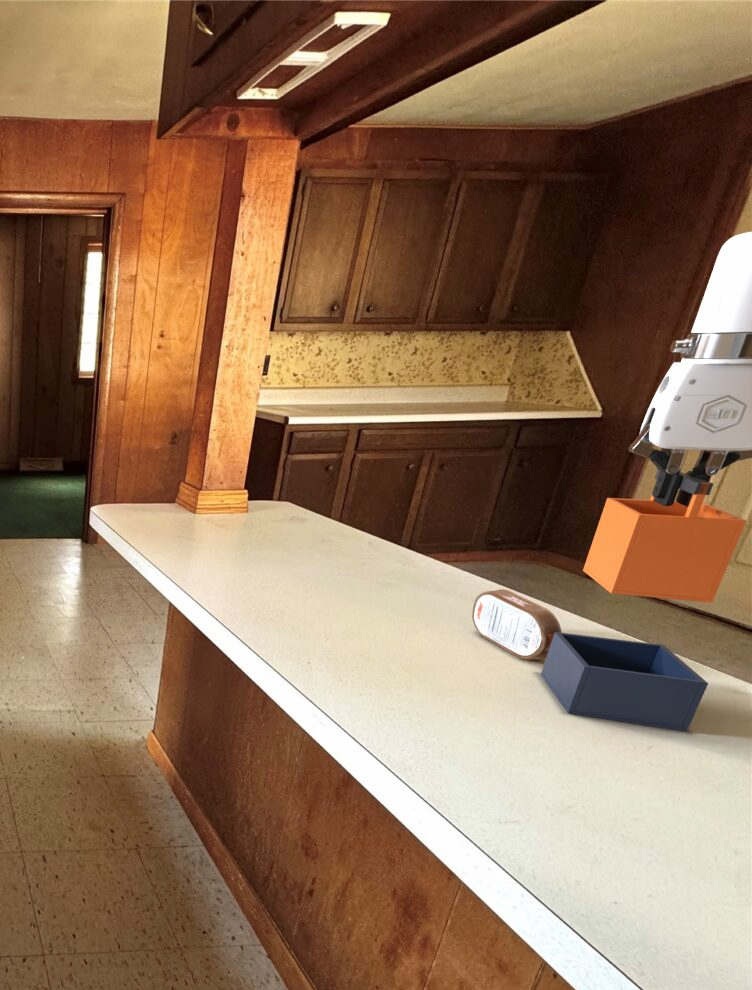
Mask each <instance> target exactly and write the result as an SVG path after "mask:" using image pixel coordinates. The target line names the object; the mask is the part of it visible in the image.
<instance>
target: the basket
mask: <svg viewBox="0 0 752 990" xmlns="http://www.w3.org/2000/svg"><path fill="white" fill-rule="evenodd" d="M659 473H660V470H658V469H657V470H656V473H655V475H654V479H655V480H657V478H658V475H659ZM679 474H681V475H683V478H682V481H681V484H680V486H679V490H680V489H681V490H684V491H686V492H689V493H691V494H693V496H692V498H691V501H690V504H689V506H688V507H687V506H684V505H682V504H680V503H678V502H676V500H675V501H674V503H673V505H671V506H663V505H661V504H659V503H656V502H654V497H653V496H652V495H651V496H650V499H638V498H616V497H607V498H606V501H605V503H604V504H605V505H604V507H603V511H602V513H601V516H600V519H599V521H598V525H597V527H596V531H595V534H594V536H593V539H592V543H591V546H590V549H589V551H588V555H587V556H586V560H585V563H584V566H583V569H582V572H584V573H585V574H586V575H588V576H589V577H590V578H592V579H593V580H594V581H595V582H596V583H598V584H599V585H600V586H602V587H603V589H605V590H606V591H607V592H609V593H610V594H614V595H624V596H635V597H645V598H646V597H647V598H656V599H665V600H666V599H667V600H678V601H679V600H680V601H690V602H700V603H711V604H712V603H713V601H714V600H715V597H716V595H717V592H718V590H719V587H720V586H721V583H722V580H723V578H724V575H725V574H726V571H727V568H728V566H729V563H730V561H731V560H732V557H733V554H734V552H735V549H736V547H737V545H738V542H739V540H740V537H741V535H742V532H743V530H744V528H745V526H746V523H747V520H746V519H745V518H741V517H739V516H737V515H734V514H731V513H729V512H727V511H725V510H722V509H720V508H717V507H715V506H712V505H710V504H708V503H705V501H704V500H705V498H706V496H710V493H711V492H712V489H713V486H714V483H712V482H710V481H709V482H707V481H705V480H702V479H699V478H696V477H694V476H691V475H688V474H686V472H682V471H680V473H679Z"/></svg>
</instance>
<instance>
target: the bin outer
mask: <svg viewBox="0 0 752 990" xmlns="http://www.w3.org/2000/svg"><path fill="white" fill-rule="evenodd" d="M544 660H545V661H544V663H543V666H542V669H541V672H540V676H541V677H542V678H543V680H544V682H545V683H546V684H547V686H548V687H549V689H550V691H552V693H553V694H554V696H555V698H557V700H558V702H559V703H560V704H561V706H562V708H564V710H565V711H566V713H567V714H571V715H577V716H583V717H591V718H596V719H603V720H609V721H615V722H622V723H628V724H634V725H640V726H648V727H652V728H658V729H659V728H660V729H666V730H673V731H678V732H684V733H687V732H688V730H689V728H690V726H691V723H692V721H693V719H694V716H695V715H696V712H697V710H698V708H699V705H700V703H701V701H702V699H703V696H704V694H705V692H706V691H707V687H708V685H709V682H707V680H705V679H704V678H702V676H700V675H699V674H698V673H697V672H696V671H695V670H693V668H691V667H690V666H689V665H688V664H687V663H686V662H684V661H683V660H682V659H681V658H680V657H678V656H677V654H675V653H674V652H672V650H670V648H668V647H667V646H665V645H664V644H661V643H660V644H658V643H649V642H641V641H634V640H625V639H619V638H617V639H616V638H608V637H602V636H601V637H600V636H592V635H586V634H585V635H584V634H575V633H568V632H562V633H560V632H555V633H554V636H553V639H552V642H551V645H550V648H549V651H548V654H547V657H546V659H544Z"/></svg>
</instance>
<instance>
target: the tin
mask: <svg viewBox="0 0 752 990" xmlns="http://www.w3.org/2000/svg"><path fill="white" fill-rule="evenodd" d="M471 619H472V622H473V625H474V628H475V630H476V632H477V633H478V634H479V635H480V636H482V638H484V639H486V640H487V641H489V642H491V643H493V644H494V645H496V646H498V647H499V648H501V649H503V650H505V651H506V652H509V653H510V654H512V655H513V656H515V657H517V658H519V659H521V660H527V661H528V660H529V661H530V660H546V657H547V654H548V651H549V648H550V645H551V642H552V639H553V636H554V633H555V632H560V633H563V632H562V627H561V624H560V622H559V621H558V619H557V617H556V616H555V614H554V613H553V612H552V611H550V610H549V609H548V608H546V607H544V606H542V605H540V604H538V603H536V602H534V601H531V600H529V599H528V598H526V597H523V596H521V595H519V594H518V593H516V592H514V591H511V590H508V589H505V588H503V589H502V588H501V589H497V590H487V591H483V592H482V593H479V595H477V597H475V600H474V603H473V606H472V614H471Z"/></svg>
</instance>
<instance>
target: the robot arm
mask: <svg viewBox="0 0 752 990" xmlns="http://www.w3.org/2000/svg"><path fill="white" fill-rule="evenodd" d="M669 352H670V353H678V354H680V356H679V357H680V358H681V361H674V362H673V363H672V364H671V366H670V368H669V369H668V371H667V372H666V374H665V375H664V377H663V379H662V381H661V383H660V384H659V386H658V388H657V390H656V392H655V394H654V396H653V398H652V400H651V402H650V404H649V407H648V408H647V411H646V414H645V416H644V419H643V422H642V424H641V427H640V431H639V435H638V436H637V437H636V438H635V440H634V441H633V442H632V443H631V444H630V446H629V447H628V451H629V452H630V453H631V454H635V455H637V456H641V457H644V458H647V459H649V460H650V461H651V462H652V464H653V465H654V466H655V467H656V469H657V470H660V473H659V475H658V478H657V479H656V481H655V484H654V486H653V489H652V492H651V496H653V497H654V502H656V503H659V504H661V505H663V506H671V505H673V503H674V501H676V502H678V503H680V504H682V505H684V506H687V507H688V506H689V504H690V501H691V498H692V496H693V494H691V493H689V492H686V491H684V490H681V489H679V486H680V484H681V481H682V478H683V475H681V474H679V473H680V472H681V470H682V469H681V467H682V464H683V463H684V462H683V461H684V459H685V456H686V452H687V451H689V450H690V451H700V453H699V454H698V456H697V459H696V461H695V464H694V466H693V467H692V469H691V470H687V472H685V474H688V475H691V476H694V477H696V478H699V479H702V480H705V481H707V482H710V480H711V478H712V476H715V475H717V474H719V473H720V471H722V470H723V469H725V468H727V467H728V466H730V465H732V464H734V463H736V462H738V461H741V462H742V461H745V460H749V459H752V231H746V232H742V233H740V234H736V235H734V236H732V237H730V238H728V239H727V241H725V243H723V245H722V246H721V248H720V250H719V252H718V255H717V257H716V260H715V263H714V266H713V270H712V272H711V275H710V277H709V279H708V283H707V286H706V289H705V291H704V296H703V297H702V300H701V303H700V305H699V309H698V312H697V315H696V317H695V320H694V323H693V326H692V328H691V331H690V333H688V334H687V337H686V338H684V339H683V338H682V339H680V340H673V341H672V343H671V344H670V347H669ZM652 445H654V446H656V447H658V448H661V449H657V448H654V447H652Z"/></svg>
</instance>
